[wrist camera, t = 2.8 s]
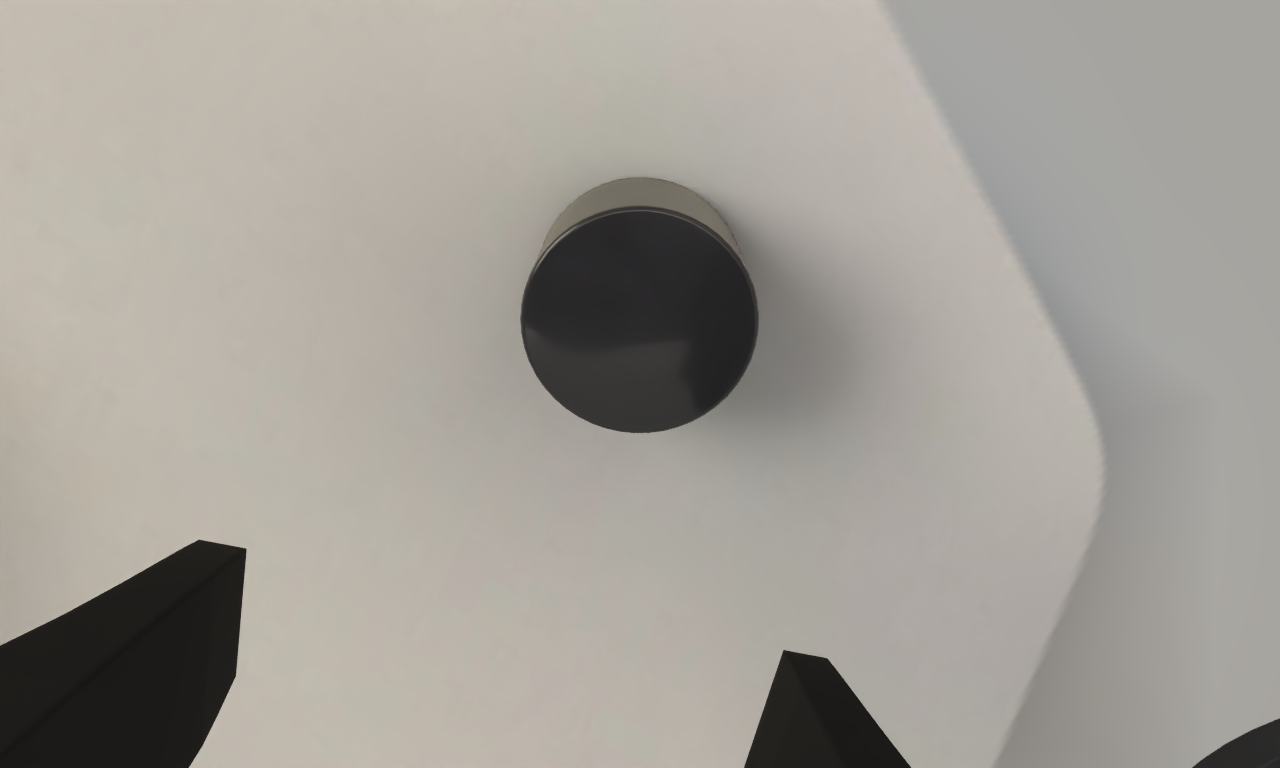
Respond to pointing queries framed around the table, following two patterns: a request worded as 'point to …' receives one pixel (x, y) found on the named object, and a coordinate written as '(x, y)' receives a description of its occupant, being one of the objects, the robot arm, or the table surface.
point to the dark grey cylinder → (639, 307)
